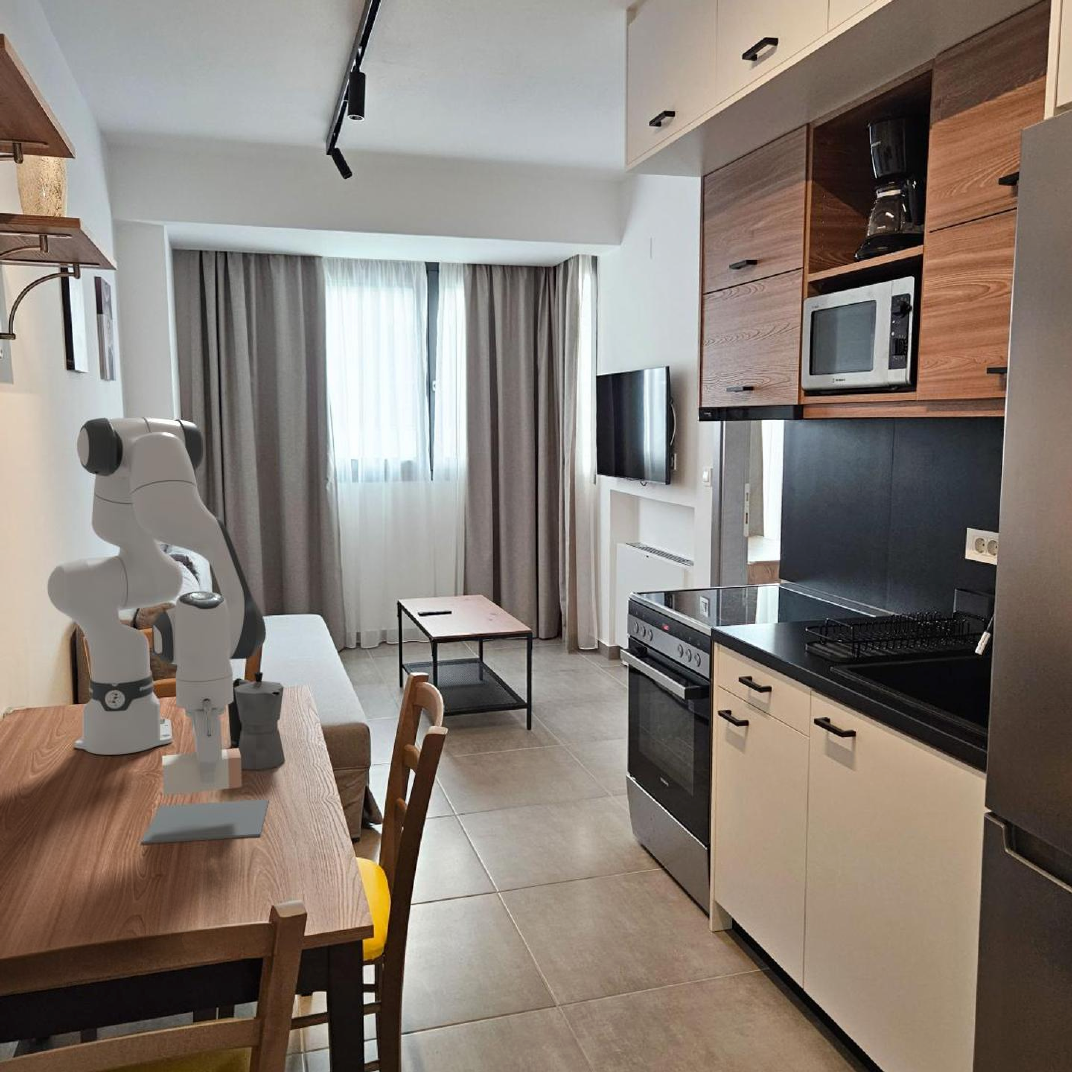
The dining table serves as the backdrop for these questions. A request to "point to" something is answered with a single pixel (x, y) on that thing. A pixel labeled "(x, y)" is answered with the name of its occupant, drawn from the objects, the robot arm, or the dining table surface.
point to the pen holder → (234, 725)
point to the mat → (207, 821)
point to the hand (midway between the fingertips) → (207, 775)
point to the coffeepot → (259, 722)
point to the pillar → (200, 773)
